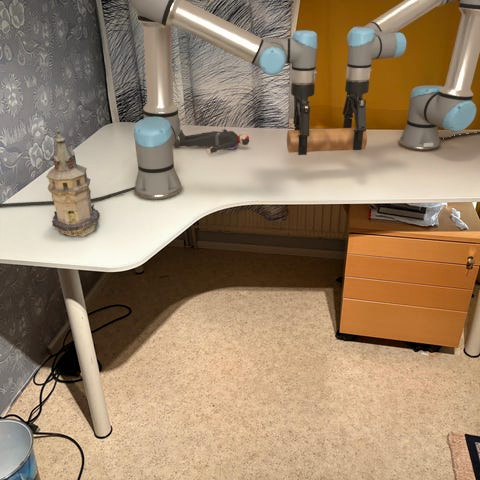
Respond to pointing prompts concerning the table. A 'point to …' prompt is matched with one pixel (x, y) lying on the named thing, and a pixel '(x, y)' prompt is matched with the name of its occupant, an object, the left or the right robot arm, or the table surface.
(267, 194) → the table surface
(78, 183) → the miniature building
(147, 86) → the left robot arm
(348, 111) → the right robot arm
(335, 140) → the rod
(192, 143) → the toy
